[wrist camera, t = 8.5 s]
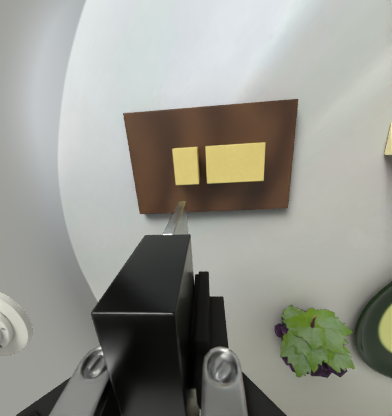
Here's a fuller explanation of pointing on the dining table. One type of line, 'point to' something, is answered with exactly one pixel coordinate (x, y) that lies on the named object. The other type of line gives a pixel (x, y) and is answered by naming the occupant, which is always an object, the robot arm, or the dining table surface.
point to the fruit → (314, 342)
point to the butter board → (201, 137)
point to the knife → (152, 325)
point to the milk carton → (389, 143)
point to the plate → (376, 332)
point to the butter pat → (186, 165)
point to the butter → (235, 163)
